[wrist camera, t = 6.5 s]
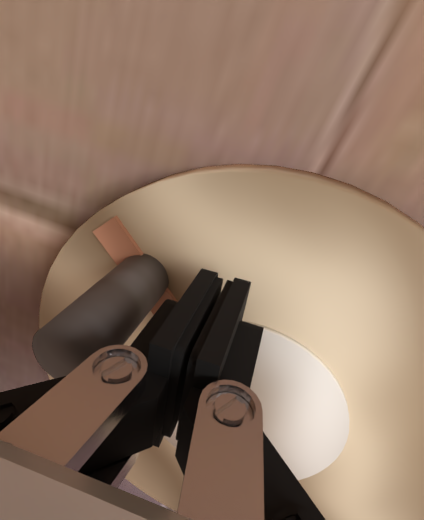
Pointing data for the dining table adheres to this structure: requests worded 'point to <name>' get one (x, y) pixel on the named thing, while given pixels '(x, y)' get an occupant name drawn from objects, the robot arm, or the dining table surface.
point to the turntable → (270, 320)
